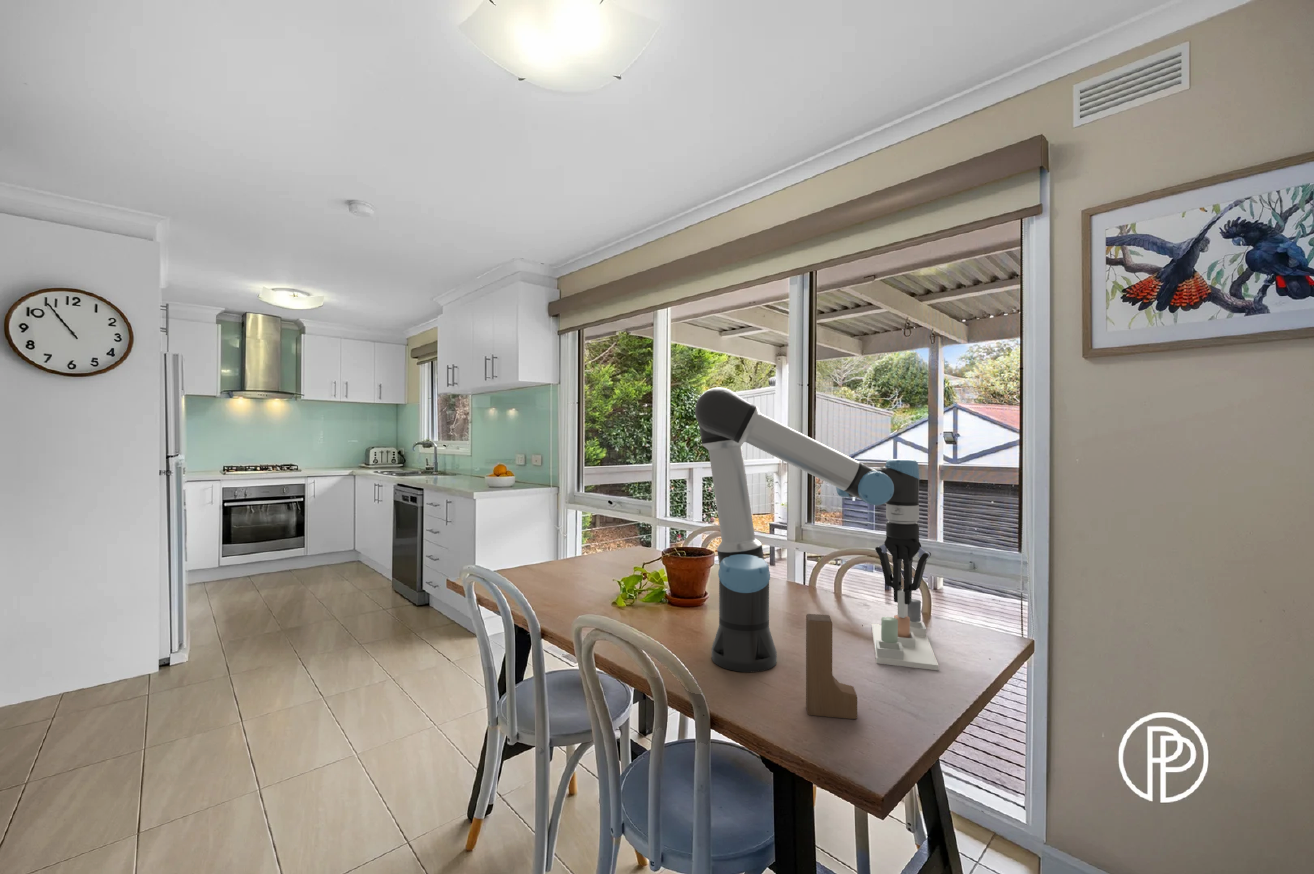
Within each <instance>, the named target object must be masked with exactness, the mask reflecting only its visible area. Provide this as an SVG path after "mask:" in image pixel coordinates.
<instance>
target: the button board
mask: <svg viewBox="0 0 1314 874" xmlns="http://www.w3.org/2000/svg"><path fill="white" fill-rule="evenodd" d="M871 631H872V632H871V633H872V634H871V635H872V640H873V641H872V642H873V647H874V655H875V662H876V664H881V665H888V666H889V665H891V666H896V667H897V666H898V667H904V668H906V667H907V668H915V669H924V670H930V671H931V670H932V671H939V669H940V667H939V666H940V664H939V663H938V660H937V658H936V656H935V655H936V654H935V653H934V650H933V647H932V645H931V643H930V639H928V635H927V627H926V625H925V622H924V621H920V622H911V621H910V638H904V637H898V642H897V643H886V642H883V641H882V640H881V624H878V623H871Z"/></svg>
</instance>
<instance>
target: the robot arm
mask: <svg viewBox="0 0 1314 874" xmlns="http://www.w3.org/2000/svg"><path fill="white" fill-rule="evenodd" d="M694 414H695V419H696V421H697V424H698V426H699V433H700V439H701V446H703V447H704V448H705V449H707V450H708V455H709V461H710V462H709V463H710V468H711V477H712V482H713V490H714V496H715V503H716V509H717V518H718V523H719V524H718V526H719V531H720V538H721V542H720V544H718V546H717V548H716V551H717V557H718V564H719V569H718V574H717V575H718V581H719V582H718V592H719V593H718V628H717V631H716V633H715V635H714V640H713V642H712V646H711V661H712V662H713V663H714V664H715V665H717V666H718V667H721V668H723V669H726V670H729V671H734V672H739V673H740V672H741V673H756V672H763V671H767V670H769V669H772V668H773V667H775V666H776V664H777V663H778V662H777V659H778V657H777V656H778V655H777V653H778V652H777V648H776V646H775V643H774V640H773V635H772V633H771V630H770V580H771V572H770V566H769V564H768V562H767V561H766V560H765V557H764V552H763V551H764V549H763V544H762V542H761V541H760V540H759V539H757V538H756V535H755V529H754V523H753V514H752V509H751V502H750V496H749V488H748V481H747V474H746V467H745V466H746V465H745V461H744V453H743V447H742V446H743V444H744V443H747V444H749V445H751V446H753V447H754V448H757V449H759V450H761V451H762V452H765V453H767V454H769V455H770V456H771V455H772V456H773V457H775V458H777V459H779V460H781V461H783V462H786V463H787V464H789V465H791V466H793V467H795V468H797V469H799V470H801V471H803V472H805V473H807V474H809V475H812V476H813V477H815V478H817V479H820V480H821V481H824V482H825V483H827V484H829V485H831V486H833V487H835V489H836V490H835V491H836V493H837V496H839V497H843V498H849V499H851V498H857V499H858V500H861V501H863V502H864V503H866V504H868V505H869V506H870V505H871V506H882V505H884V504H885V505H886V506H885V511H886V513H885V514H886V515H885V518H886V519H887V520H888V521H887V522H885V534H886V535H885V536H886V537H885V540H884V543H883V544H882V545H879V546H876V547H875V552H876V553H877V555H878V556H879V561H880V564H881V570H882V574H883V578H884V581H885V585H886V586H887V587H891V588H892V589H893V601H894V603H897V615H898V617H900V618H905V617H906V616H908V605H909V604H911V602H912V599H913V598H912V591H914V592H915V591H917V590H919V589H920V588H921V584H922V580H923V577H924V572H925V568H926V564H927V561H928V560H929V558H931V556H932V553H931V552H930V551H926V549H924V548H923V547H922V544H921V542H920V524H919V523H918V521H920V504H919V503H920V500H919V499H920V497H919V496H920V479H921V478H920V470H919V469H920V468H919V463H918V462H917V461H916V460H915V459H913V458H912V459H909V458H908V459H907V458H891V459H890V458H889V459H887V460H886V462H885V465H884V466H880V467H877V466H876V467H871V466H868V465H866V464H865V463H863V462H860V461H859V460H856V459H854V458H852V457H850V456H848V455H846V454H844V453H843V452H840V451H838V450H835V448H832V447H829V446H828V445H826V444H824V443H822V442H819V441H817V439H816V440H815V439H814V438H812V437H810V436H808V435H806V434H803V433H802V432H799V431H797V430H795V429H794V428H791V427H789V426H788V425H785V424H784V423H782V422H779V421H777V420H775V419H773V418H771V417H769V416H768V415H765V414H763V413H761V411H760V408H759V407H758V406H756V405H754V404H753V403H751V402H749V401H747V400H745V399H744V398H742V397H740V396H739V395H738V394H736V393H735V392H734V391H733V390H731V389H728V388H726V387H720V386H719V387H712V388H709V389H707V390H705V391H704V392H703V393H702V394H701V395H700V396H699V398H698V399H697V401H696V403H695V408H694ZM888 552H889V554H890V555H891V557H892V559H891V560H892V561H891V562H892V568H891V564H890V559H889V555H888ZM917 554H918V561H917V564H916V568H915V572H914V576H913V562H914V561H913V560H914V559H913V558H914V557H915V556H917ZM902 564H903V585H902ZM902 587H903V588H902Z"/></svg>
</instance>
